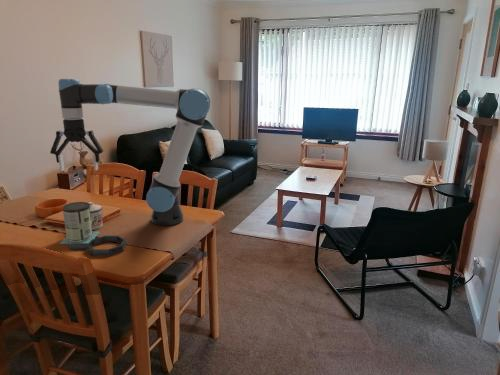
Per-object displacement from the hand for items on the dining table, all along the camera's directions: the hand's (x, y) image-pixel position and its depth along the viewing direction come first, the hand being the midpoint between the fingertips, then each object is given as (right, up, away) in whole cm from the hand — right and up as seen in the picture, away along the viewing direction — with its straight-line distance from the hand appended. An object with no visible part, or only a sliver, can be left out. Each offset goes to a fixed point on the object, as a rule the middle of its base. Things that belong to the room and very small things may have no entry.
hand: (79, 170), depth 151 cm
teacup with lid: (0, -25, +15) cm, 29 cm away
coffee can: (0, -29, +1) cm, 29 cm away
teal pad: (0, -29, +1) cm, 29 cm away
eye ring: (+11, -32, -8) cm, 34 cm away
